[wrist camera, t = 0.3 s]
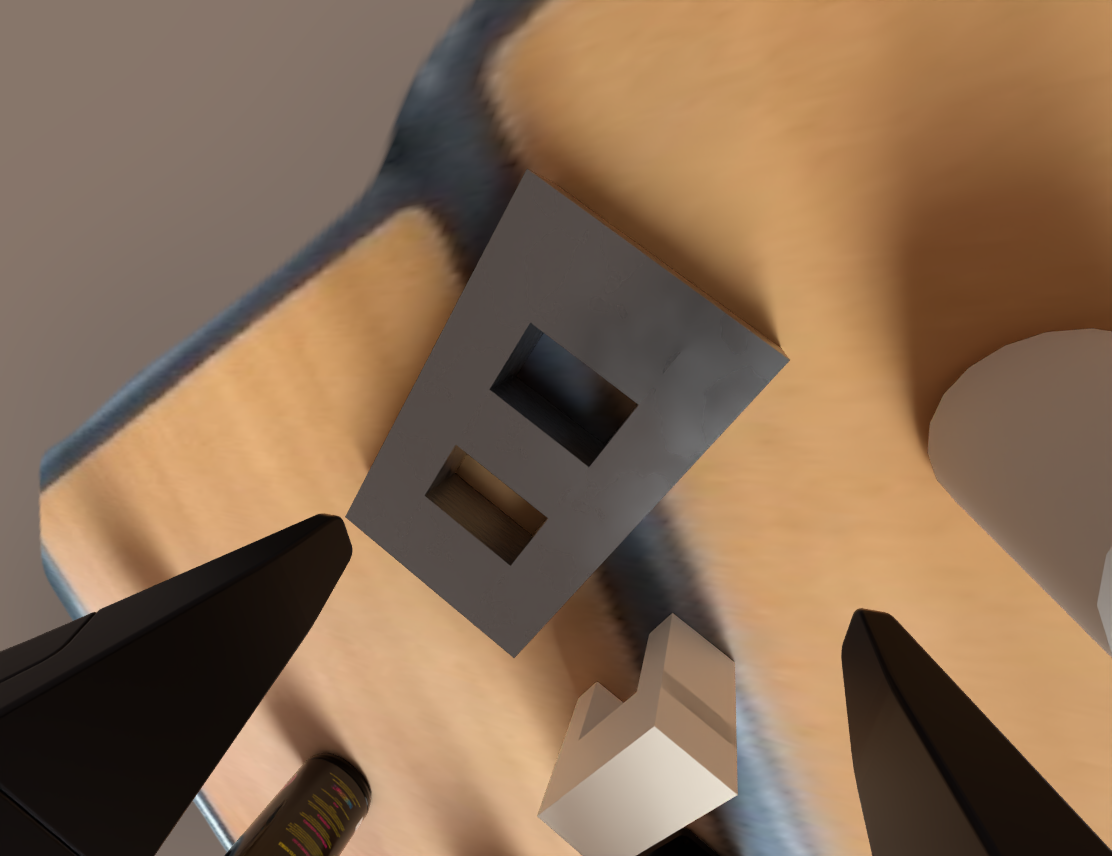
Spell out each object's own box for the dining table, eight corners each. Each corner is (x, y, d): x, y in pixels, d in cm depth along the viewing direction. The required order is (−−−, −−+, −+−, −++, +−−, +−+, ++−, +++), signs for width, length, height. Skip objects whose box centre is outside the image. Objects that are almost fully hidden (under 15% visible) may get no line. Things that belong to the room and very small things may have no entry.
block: (631, 742, 29) (604, 874, 22) (578, 697, 29) (537, 816, 23) (734, 662, 25) (737, 794, 19) (672, 612, 25) (654, 726, 19)
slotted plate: (534, 621, 28) (514, 658, 26) (380, 494, 29) (345, 516, 27) (781, 348, 20) (789, 359, 17) (552, 182, 21) (527, 168, 18)
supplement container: (317, 734, 39) (188, 879, 30) (384, 783, 38) (272, 950, 29) (302, 777, 42) (179, 922, 33) (363, 824, 41) (256, 989, 32)
